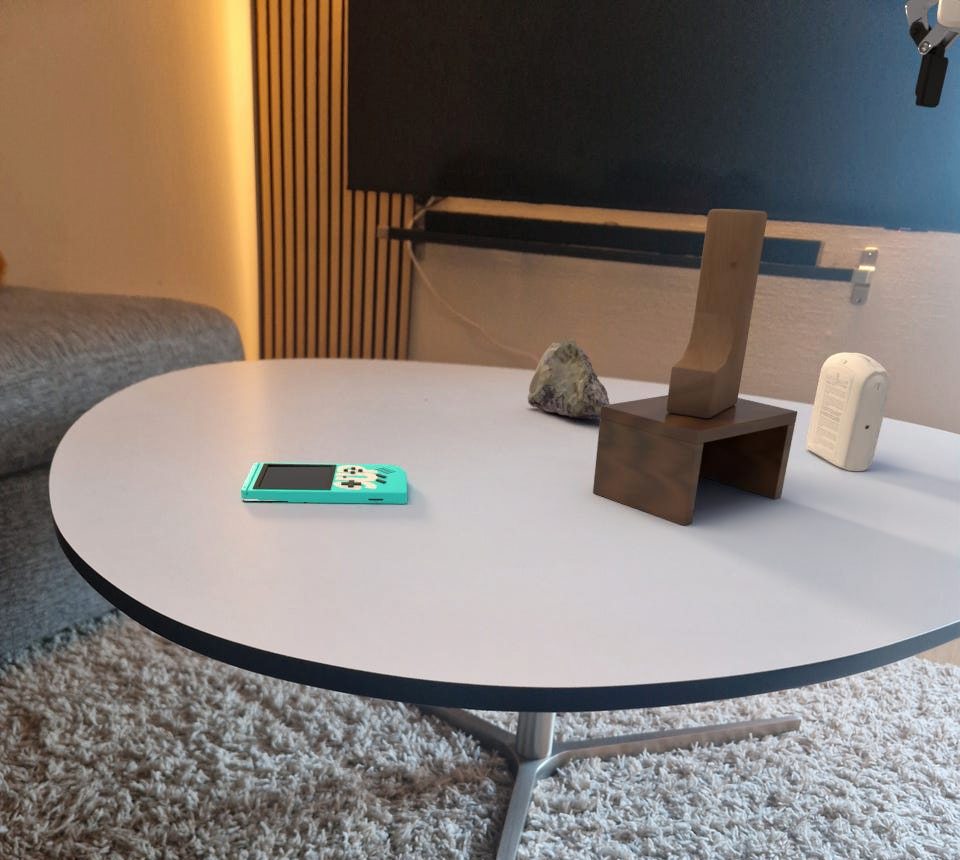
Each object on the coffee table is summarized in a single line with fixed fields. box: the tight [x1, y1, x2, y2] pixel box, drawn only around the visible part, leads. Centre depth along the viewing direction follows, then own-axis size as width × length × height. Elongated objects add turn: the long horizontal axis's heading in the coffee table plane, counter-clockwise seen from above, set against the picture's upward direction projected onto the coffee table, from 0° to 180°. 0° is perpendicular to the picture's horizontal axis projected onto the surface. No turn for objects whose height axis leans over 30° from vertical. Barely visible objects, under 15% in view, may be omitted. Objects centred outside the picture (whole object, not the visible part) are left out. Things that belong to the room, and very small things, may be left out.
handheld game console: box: [240, 461, 408, 505], centre depth 94 cm, size 10×16×1 cm, turn 95°
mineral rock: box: [527, 338, 611, 420], centre depth 124 cm, size 13×11×10 cm
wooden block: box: [666, 208, 768, 419], centre depth 88 cm, size 9×4×18 cm, turn 149°
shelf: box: [592, 394, 798, 526], centre depth 94 cm, size 12×16×9 cm
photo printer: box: [805, 352, 892, 472], centre depth 109 cm, size 10×4×12 cm, turn 10°
